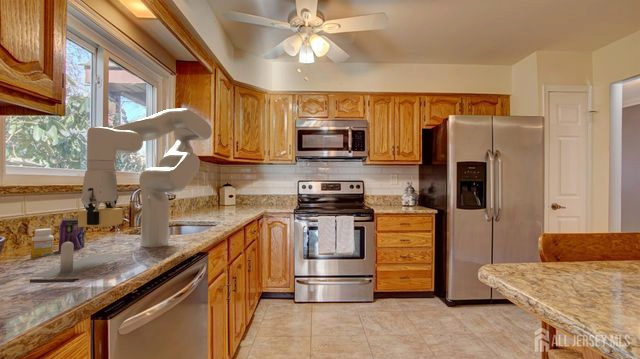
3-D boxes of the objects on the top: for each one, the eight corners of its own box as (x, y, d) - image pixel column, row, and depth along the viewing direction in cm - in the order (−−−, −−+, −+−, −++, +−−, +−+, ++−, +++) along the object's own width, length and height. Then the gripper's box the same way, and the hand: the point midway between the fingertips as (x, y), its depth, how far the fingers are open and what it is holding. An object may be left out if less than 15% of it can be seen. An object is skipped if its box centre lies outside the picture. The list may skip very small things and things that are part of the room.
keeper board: (94, 258, 97) (95, 230, 97) (125, 258, 98) (126, 230, 98) (29, 282, 73) (31, 245, 74) (72, 282, 74) (73, 245, 74)
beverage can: (72, 254, 102) (73, 220, 102) (52, 254, 102) (54, 219, 103) (89, 250, 109) (90, 218, 110) (70, 249, 109) (71, 217, 110)
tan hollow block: (93, 223, 96) (93, 208, 96) (122, 223, 96) (122, 208, 96) (77, 226, 89) (78, 210, 89) (109, 226, 89) (109, 210, 89)
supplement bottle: (36, 257, 97) (37, 228, 97) (56, 256, 99) (57, 227, 99) (26, 261, 92) (27, 230, 92) (48, 260, 94) (49, 230, 94)
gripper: (106, 167, 101) (106, 219, 101) (68, 165, 83) (67, 227, 84) (129, 167, 101) (129, 219, 102) (96, 165, 84) (95, 227, 84)
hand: (101, 222), depth 93 cm, fingers closed on tan hollow block, 7 cm apart
